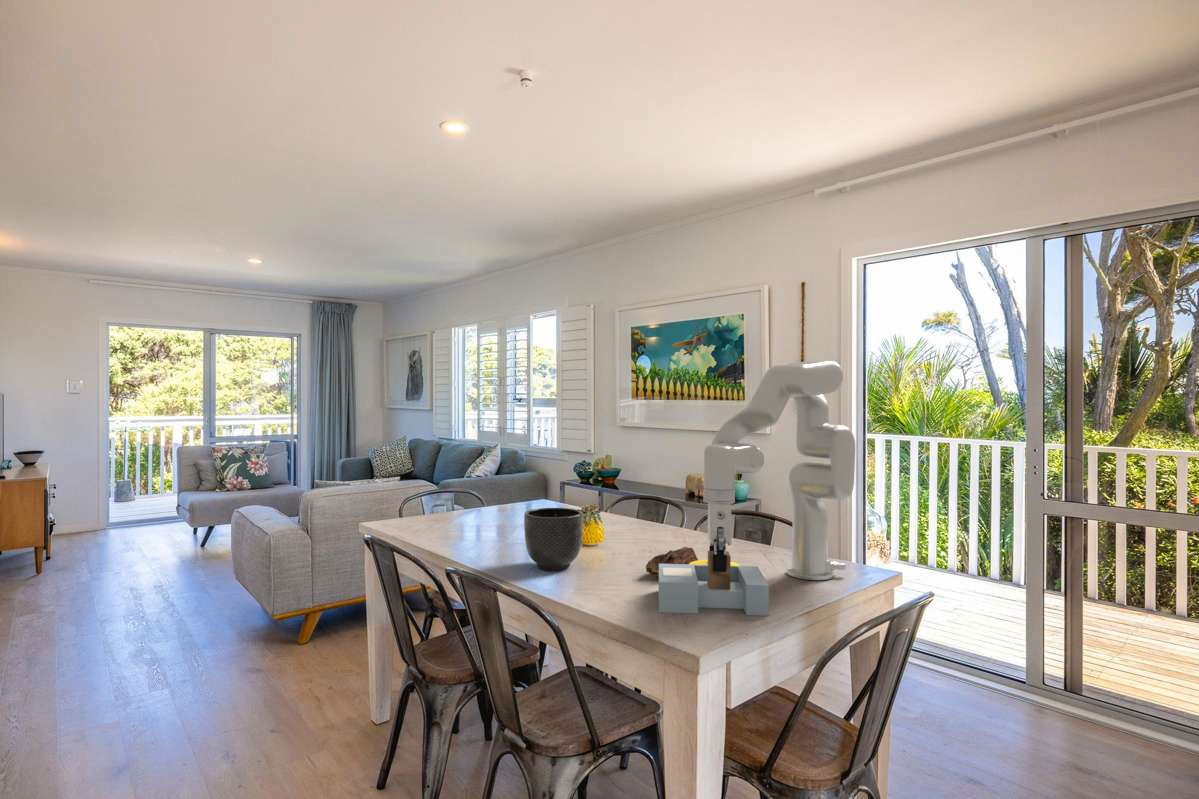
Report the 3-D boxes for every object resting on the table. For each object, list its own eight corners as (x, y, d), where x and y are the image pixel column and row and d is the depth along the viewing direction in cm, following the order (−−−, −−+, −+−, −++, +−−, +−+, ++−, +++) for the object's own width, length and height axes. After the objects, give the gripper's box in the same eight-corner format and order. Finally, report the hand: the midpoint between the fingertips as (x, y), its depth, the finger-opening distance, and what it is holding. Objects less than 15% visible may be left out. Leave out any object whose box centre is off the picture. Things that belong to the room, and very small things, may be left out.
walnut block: (728, 583, 164) (728, 551, 163) (730, 589, 159) (730, 556, 158) (707, 583, 164) (707, 550, 164) (709, 589, 159) (709, 555, 159)
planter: (594, 568, 193) (595, 513, 192) (545, 578, 182) (545, 520, 182) (560, 556, 206) (560, 505, 206) (512, 565, 195) (512, 511, 195)
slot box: (757, 593, 169) (757, 565, 169) (768, 615, 152) (768, 584, 152) (658, 590, 171) (658, 562, 171) (659, 612, 154) (659, 580, 154)
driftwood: (670, 584, 178) (671, 554, 178) (643, 579, 181) (643, 550, 181) (699, 565, 198) (699, 538, 198) (673, 561, 202) (673, 535, 201)
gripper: (739, 501, 152) (737, 576, 152) (730, 491, 169) (729, 558, 169) (706, 500, 153) (704, 574, 153) (700, 490, 170) (699, 557, 170)
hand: (717, 566), depth 161 cm, fingers open, 9 cm apart
